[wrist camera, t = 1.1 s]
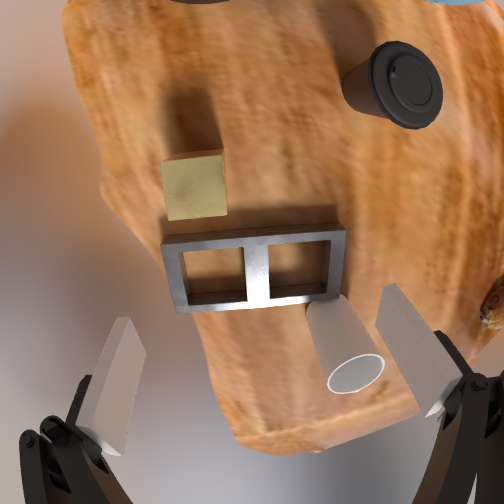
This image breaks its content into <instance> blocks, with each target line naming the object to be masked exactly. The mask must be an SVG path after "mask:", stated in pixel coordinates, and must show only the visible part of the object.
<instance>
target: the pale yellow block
mask: <svg viewBox="0 0 504 504" xmlns="http://www.w3.org/2000/svg"><path fill="white" fill-rule="evenodd" d="M160 167H161V174H162V182H163V189H164V196H165V203H166V209H167V216H168V221H172V220H182V219H192V218H202V217H213V216H225V215H227V203H228V193H227V181H226V168H225V155H224V148H223V149H213V150H203V151H194V152H186V153H178V154H175V155H173V156H171V157H169V158H167V159H165V160H163V161H162V162H160Z"/></svg>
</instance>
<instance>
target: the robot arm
mask: <svg viewBox="0 0 504 504" xmlns="http://www.w3.org/2000/svg"><path fill="white" fill-rule="evenodd" d="M172 1H175V2H180V3H188V4H210V3H218V2H224V1H228V0H172ZM425 1H428V2H431V3H435V4H447V5H451V6H455V5H467V4H473V3H477V2H481V1H484V0H425ZM375 326H376V328H377V330H378V331H379V333H380V335H381V336H382V338H383V340H384V342H385V343H386V345H387V347H388V349H389V350H390V352H391V354H392V356H393V358H394V359H395V361H396V363H397V365H398V367H399V369H400V370H401V372H402V374H403V376H404V378H405V380H406V382H407V383H408V385H409V387H410V389H411V391H412V393H413V395H414V397H415V399H416V401H417V403H418V405H419V407H420V409H421V411H422V413H423V415H424V417H427V416H429V415H431V414H433V413H436V412H438V410H439V409H440V408H441V407H442V405H444V407H445V411H444V412H443V413H442V414H441V415H440V417H439V418H438V420H437V422H439V421H440V420H441V419H442V420H441V424H440V428H439V432H438V435H437V439H436V442H435V445H434V448H433V452H432V455H431V458H430V461H429V463H428V466H427V469H426V471H425V474H424V477H423V479H422V482H421V484H420V487H419V489H418V491H417V494H416V496H415V498H414V500H413V502H412V504H467V502H468V499H469V496H470V494H471V490H472V487H473V484H474V480H475V477H476V473H477V483H476V493H475V501H474V504H504V370H503V372H502V373H501V374H500V376H497V377H491V378H486V377H485V376H484V375H482V374H480V373H474V372H473V371H472V370H471V368H470V367H469V365H468V364H467V362H466V361H465V360H464V358H463V357H462V355H461V354H460V353H459V351H457V348H456V347H455V346H454V345H453V343H452V342H451V340H450V339H449V338H448V336H447V335H445V334H444V333H442V332H441V331H440V330H438V331H435V332H433V331H432V330H431V329H430V327H429V326H428V325H427V323H426V322H425V321H424V319H423V318H422V317H421V315H420V314H419V313H418V312H417V310H416V309H415V308H414V306H413V305H412V304H411V303H410V301H409V300H408V299H407V298H406V296H405V295H404V294H403V293H402V291H401V290H400V289H399V288H398V287H397V285H396V284H390V285H385V286H383V289H382V294H381V299H380V304H379V309H378V313H377V318H376V322H375ZM146 354H147V353H146V351H145V349H144V347H143V345H142V343H141V341H140V339H139V337H138V334H137V332H136V330H135V328H134V325H133V323H132V321H131V319H130V317H117V319H116V321H115V323H114V326H113V328H112V330H111V332H110V335H109V337H108V339H107V342H106V344H105V346H104V349H103V351H102V353H101V356H100V358H99V361H98V363H97V366H96V368H95V371H94V373H93V375H86V376H85V377H84V378H83V379H82V380H81V382H80V384H79V386H78V389H77V393H76V394H75V396H74V400H73V402H72V405H71V407H70V410H69V413H68V416H67V418H66V421H65V422H63V421H62V420H61V419H60V418H59V417H57V416H53V415H52V416H48V417H47V418H45V419H44V420H43V421H42V423H41V425H40V434H41V435H39V434H37V433H36V432H35V431H33V430H26V431H24V432H23V433H22V435H21V437H20V440H19V451H20V466H21V476H22V484H23V491H24V497H25V503H26V504H133V503H132V502H131V500H130V499H129V497H128V496H127V494H126V493H125V491H124V490H123V489H122V487H121V485H120V484H119V482H118V481H117V479H116V477H115V476H114V474H113V473H112V471H111V469H110V467H109V466H108V464H107V462H106V461H105V459H104V457H103V456H102V455H101V452H102V449H103V450H104V451H105V452H107V453H108V454H111V455H117V456H123V454H124V448H125V443H126V438H127V433H128V427H129V423H130V419H131V414H132V410H133V405H134V401H135V396H136V392H137V388H138V384H139V380H140V376H141V372H142V369H143V365H144V361H145V357H146ZM500 412H501V413H500Z"/></svg>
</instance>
